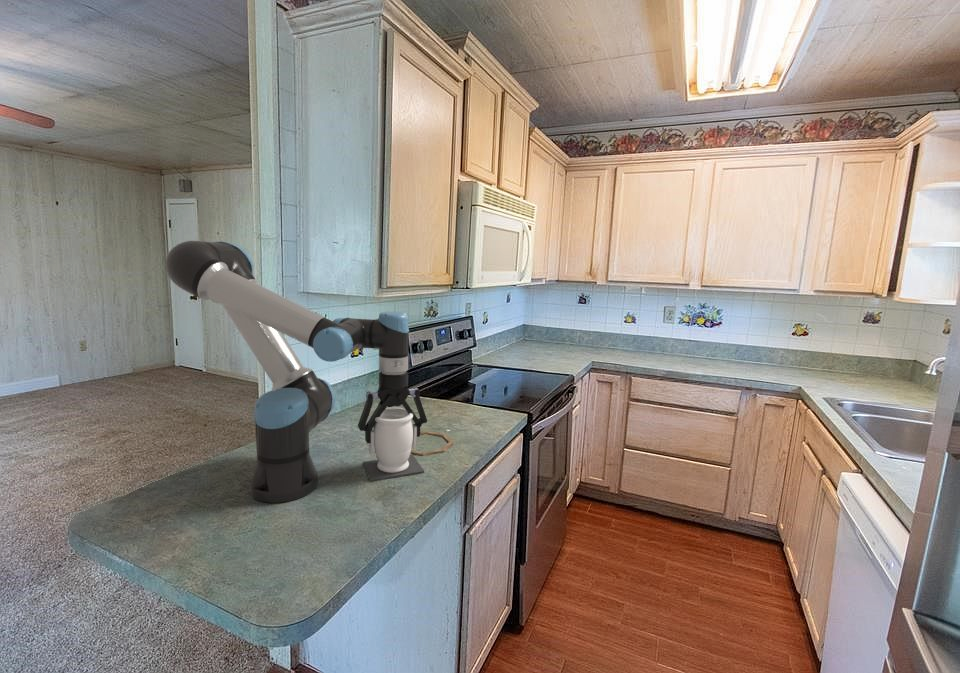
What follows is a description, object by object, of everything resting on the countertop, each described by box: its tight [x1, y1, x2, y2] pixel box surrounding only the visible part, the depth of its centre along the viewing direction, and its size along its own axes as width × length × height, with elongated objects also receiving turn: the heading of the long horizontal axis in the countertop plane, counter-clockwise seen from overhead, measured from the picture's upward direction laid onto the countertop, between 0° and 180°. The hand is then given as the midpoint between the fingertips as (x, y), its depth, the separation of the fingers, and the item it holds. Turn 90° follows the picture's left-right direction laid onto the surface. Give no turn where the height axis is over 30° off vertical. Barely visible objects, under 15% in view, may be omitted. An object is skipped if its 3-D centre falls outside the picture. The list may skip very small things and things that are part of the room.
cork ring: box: [410, 430, 454, 456], centre depth 140 cm, size 16×16×1 cm
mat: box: [362, 453, 425, 482], centre depth 123 cm, size 14×11×1 cm
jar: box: [372, 407, 413, 473], centre depth 122 cm, size 11×10×15 cm
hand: (393, 450), depth 122 cm, fingers open, 11 cm apart
